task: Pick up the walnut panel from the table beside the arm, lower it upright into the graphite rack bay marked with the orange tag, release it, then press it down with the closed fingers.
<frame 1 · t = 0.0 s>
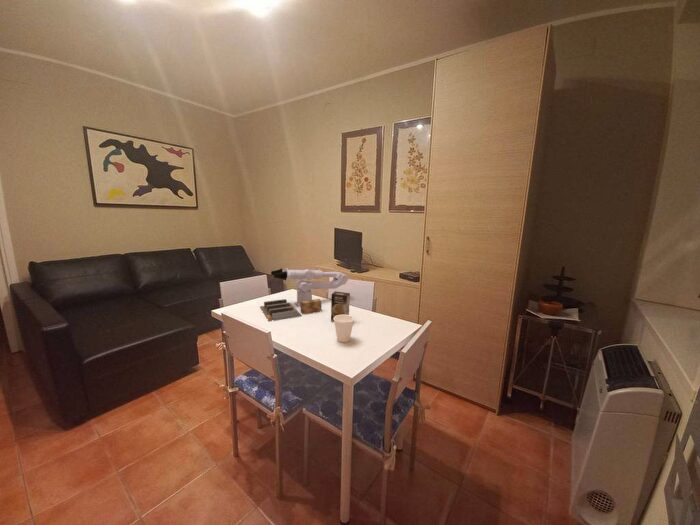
hand: (272, 274, 171), 22 cm above the table, tool horizontal, fingers open, 7 cm apart
panel: (311, 312, 170), on the table
cup: (343, 340, 134), on the table
coffee box: (340, 321, 157), on the table
rack: (279, 311, 169), on the table
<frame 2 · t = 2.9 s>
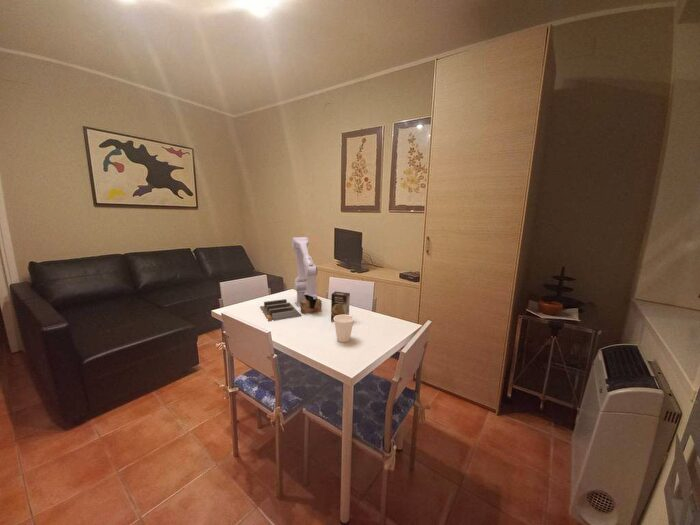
hand: (311, 307, 169), 3 cm above the table, tool pointing down, fingers closed on panel, 4 cm apart
panel: (311, 311, 170), on the table, touching gripper
everything else where it was.
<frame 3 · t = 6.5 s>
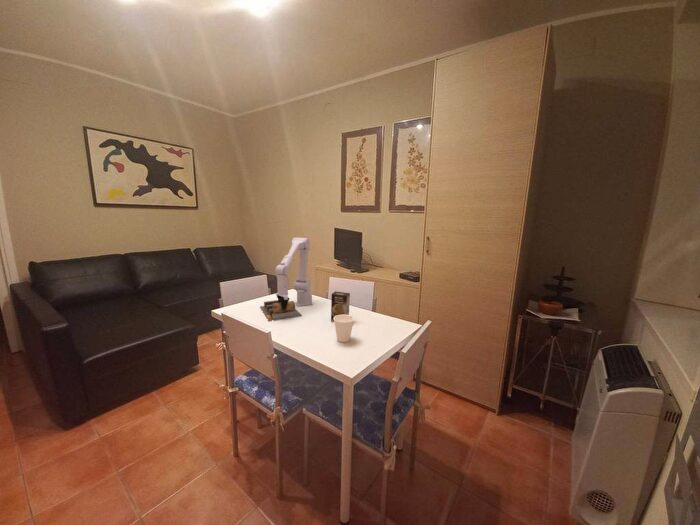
hand: (283, 308, 161), 5 cm above the table, tool pointing down, fingers closed on panel, 4 cm apart
panel: (284, 314, 162), point 1 cm above the table, touching gripper, rack
everything else where it was.
when the fingers open (5 cm above the table, at t = 7.4 s): panel stays where it is, resting on rack.
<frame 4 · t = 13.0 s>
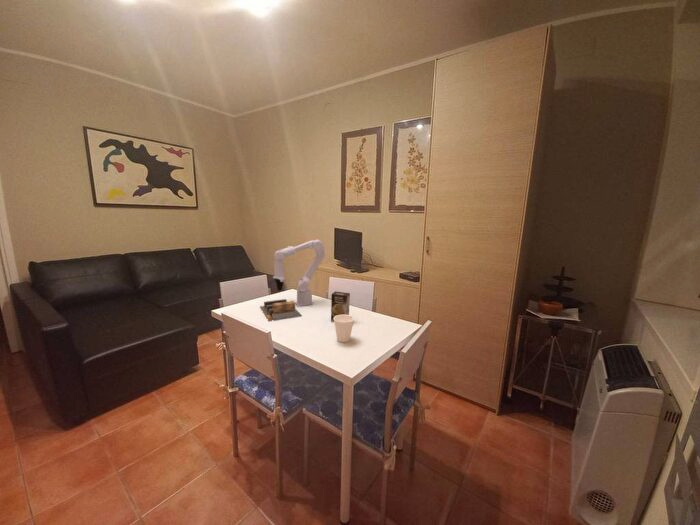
hand: (279, 290, 179), 10 cm above the table, tool pointing down, fingers closed
panel: (284, 314, 162), point 1 cm above the table, touching rack
everything else where it was.
at the end: panel 0.5 cm from the target spot on the rack, point 0.6 cm above the rack's base; panel tilted 0°; the gripper is holding nothing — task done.
